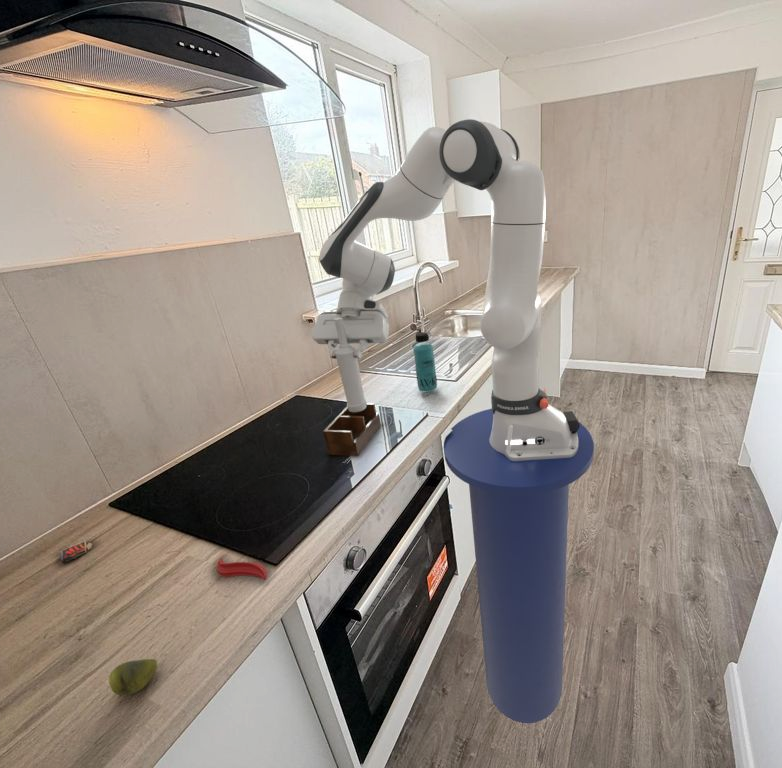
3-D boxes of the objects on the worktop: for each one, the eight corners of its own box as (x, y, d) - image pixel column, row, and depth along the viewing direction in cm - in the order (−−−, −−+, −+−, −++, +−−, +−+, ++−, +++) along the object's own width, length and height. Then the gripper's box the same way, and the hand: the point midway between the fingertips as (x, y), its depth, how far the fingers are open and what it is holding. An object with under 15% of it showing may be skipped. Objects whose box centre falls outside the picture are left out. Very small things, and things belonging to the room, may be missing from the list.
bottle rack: (381, 425, 118) (377, 403, 115) (358, 456, 104) (353, 432, 101) (354, 424, 119) (350, 402, 117) (328, 454, 106) (322, 431, 103)
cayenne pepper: (208, 567, 74) (205, 559, 74) (232, 549, 78) (229, 542, 77) (248, 594, 68) (245, 586, 68) (272, 573, 72) (269, 565, 71)
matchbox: (65, 564, 78) (64, 562, 77) (56, 554, 80) (55, 552, 80) (95, 548, 81) (94, 546, 81) (86, 538, 84) (85, 536, 84)
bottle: (371, 406, 112) (353, 316, 102) (356, 414, 108) (336, 322, 98) (358, 402, 115) (339, 315, 105) (343, 410, 111) (323, 320, 101)
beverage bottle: (414, 392, 136) (406, 334, 128) (430, 385, 140) (423, 329, 132) (426, 398, 132) (418, 338, 123) (442, 391, 135) (436, 332, 127)
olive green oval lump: (113, 693, 56) (97, 670, 53) (152, 661, 59) (138, 638, 57) (128, 711, 53) (111, 688, 51) (168, 676, 57) (154, 653, 55)
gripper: (313, 305, 109) (302, 353, 104) (385, 302, 105) (377, 352, 100) (325, 317, 115) (315, 362, 110) (394, 315, 111) (387, 362, 106)
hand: (345, 357), depth 105 cm, fingers closed on bottle, 5 cm apart
